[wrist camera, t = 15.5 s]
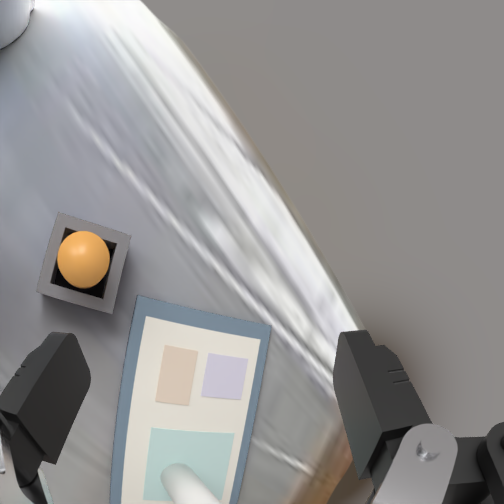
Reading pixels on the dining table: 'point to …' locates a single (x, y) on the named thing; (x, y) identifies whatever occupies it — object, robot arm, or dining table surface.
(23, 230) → the dining table surface
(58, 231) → the button housing
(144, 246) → the dining table surface
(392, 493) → the robot arm
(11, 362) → the dining table surface
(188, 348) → the placemat
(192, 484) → the marker
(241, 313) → the dining table surface
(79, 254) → the button
